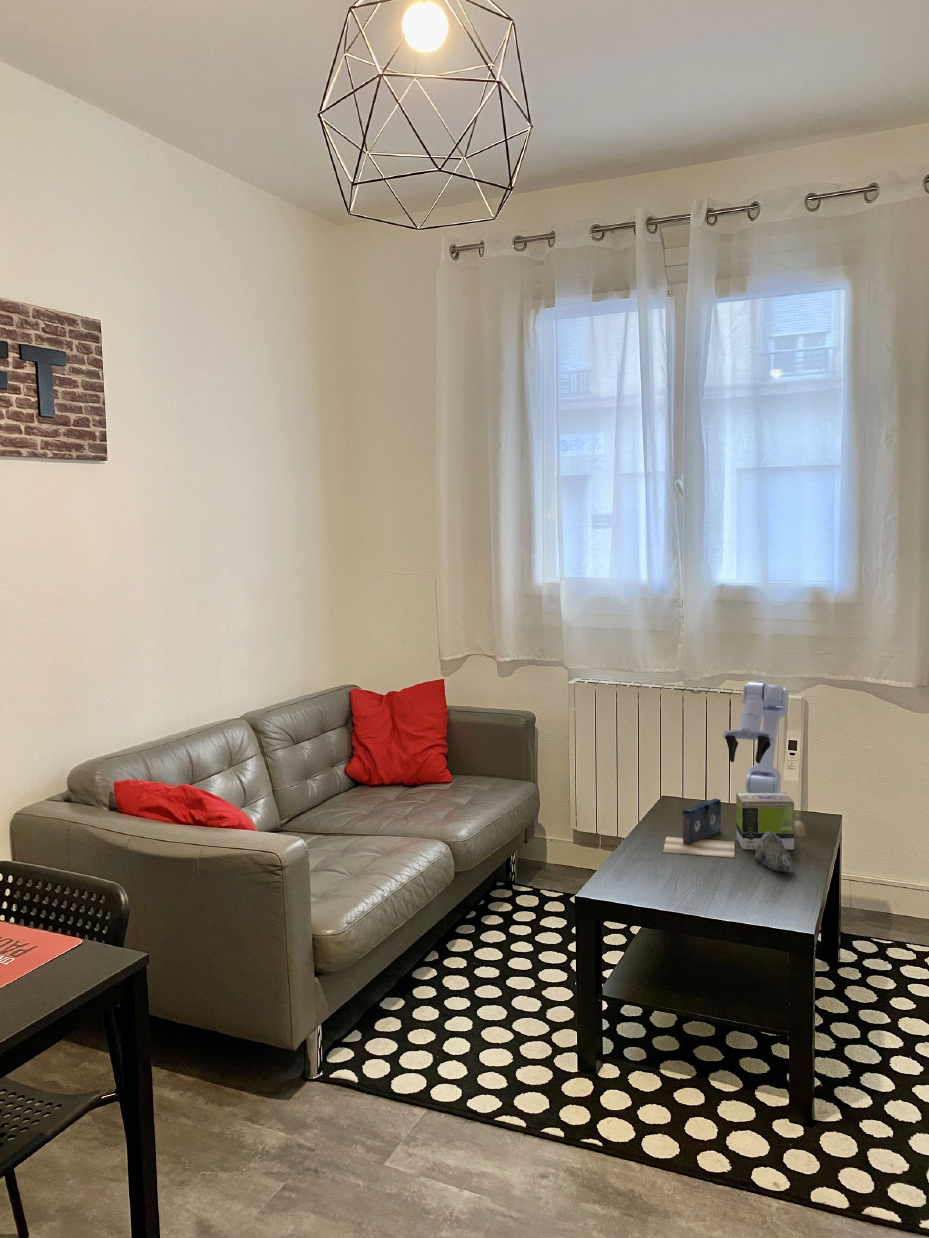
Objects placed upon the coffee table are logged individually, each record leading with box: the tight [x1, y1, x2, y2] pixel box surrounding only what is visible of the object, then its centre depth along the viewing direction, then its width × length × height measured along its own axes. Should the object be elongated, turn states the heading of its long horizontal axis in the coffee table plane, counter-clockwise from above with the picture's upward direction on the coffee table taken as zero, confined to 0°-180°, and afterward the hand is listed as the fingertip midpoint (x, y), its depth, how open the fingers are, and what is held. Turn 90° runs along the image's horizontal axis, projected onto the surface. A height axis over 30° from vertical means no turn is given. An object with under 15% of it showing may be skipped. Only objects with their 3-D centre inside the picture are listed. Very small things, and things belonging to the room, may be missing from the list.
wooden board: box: [662, 836, 736, 859], centre depth 287 cm, size 14×20×1 cm
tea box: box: [735, 792, 795, 851], centre depth 288 cm, size 15×10×15 cm, turn 84°
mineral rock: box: [754, 831, 795, 873], centre depth 269 cm, size 13×11×10 cm
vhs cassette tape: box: [682, 798, 722, 844], centre depth 296 cm, size 18×3×10 cm, turn 134°
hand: (744, 761), depth 281 cm, fingers open, 7 cm apart
